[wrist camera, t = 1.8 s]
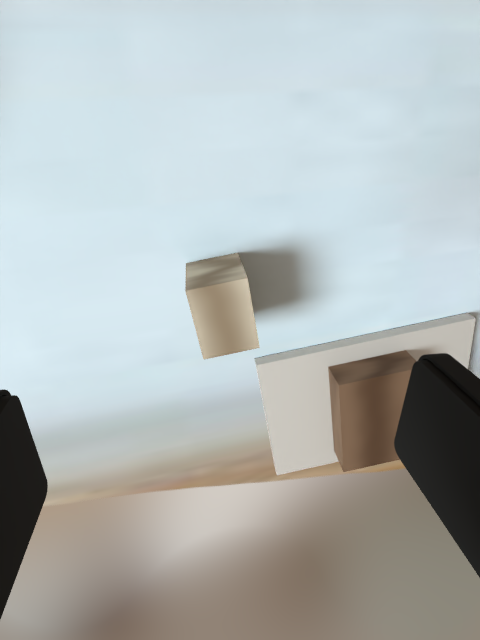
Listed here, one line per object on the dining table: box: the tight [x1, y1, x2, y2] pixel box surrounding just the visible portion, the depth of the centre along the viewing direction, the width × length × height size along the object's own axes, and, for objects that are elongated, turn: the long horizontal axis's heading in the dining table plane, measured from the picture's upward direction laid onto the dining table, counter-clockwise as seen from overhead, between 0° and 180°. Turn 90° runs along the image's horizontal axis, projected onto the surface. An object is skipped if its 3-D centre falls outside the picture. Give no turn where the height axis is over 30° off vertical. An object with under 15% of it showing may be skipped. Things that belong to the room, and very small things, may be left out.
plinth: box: [328, 350, 416, 472], centre depth 38 cm, size 8×12×3 cm, turn 10°
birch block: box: [185, 253, 260, 359], centre depth 30 cm, size 4×6×6 cm
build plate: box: [255, 313, 476, 475], centre depth 40 cm, size 22×16×1 cm
